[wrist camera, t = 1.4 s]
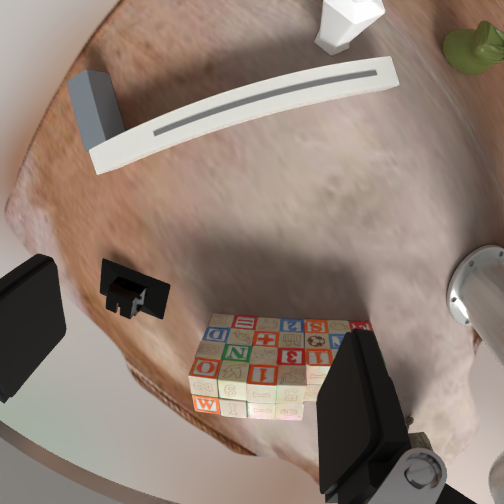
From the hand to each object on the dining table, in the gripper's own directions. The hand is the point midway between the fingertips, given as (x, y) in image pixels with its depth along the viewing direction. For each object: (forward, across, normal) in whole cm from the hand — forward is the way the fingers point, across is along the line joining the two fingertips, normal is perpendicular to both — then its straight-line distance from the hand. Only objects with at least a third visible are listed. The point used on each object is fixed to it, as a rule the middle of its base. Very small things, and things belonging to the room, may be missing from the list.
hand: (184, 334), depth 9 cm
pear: (+27, -20, -22) cm, 40 cm away
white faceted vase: (+27, -5, -18) cm, 33 cm away
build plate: (+28, +15, +18) cm, 36 cm away
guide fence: (+27, +6, -11) cm, 30 cm away
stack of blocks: (+27, -8, +19) cm, 34 cm away
